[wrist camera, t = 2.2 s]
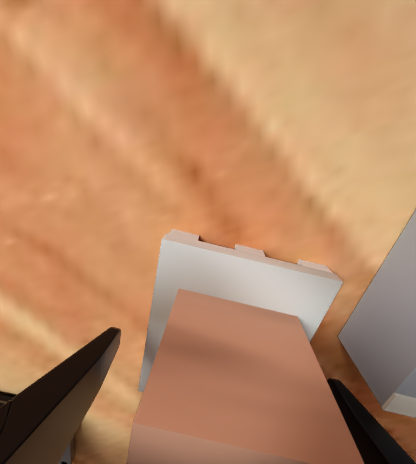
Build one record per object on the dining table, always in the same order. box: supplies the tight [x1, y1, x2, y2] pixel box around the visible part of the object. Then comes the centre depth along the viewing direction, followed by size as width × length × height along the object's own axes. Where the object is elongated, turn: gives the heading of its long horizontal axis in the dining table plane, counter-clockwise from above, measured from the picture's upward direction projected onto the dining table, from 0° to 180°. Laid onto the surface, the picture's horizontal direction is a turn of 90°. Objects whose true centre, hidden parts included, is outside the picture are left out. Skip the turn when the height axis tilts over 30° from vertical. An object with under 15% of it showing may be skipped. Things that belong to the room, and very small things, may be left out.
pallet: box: [127, 229, 364, 464], centre depth 8 cm, size 9×7×6 cm
